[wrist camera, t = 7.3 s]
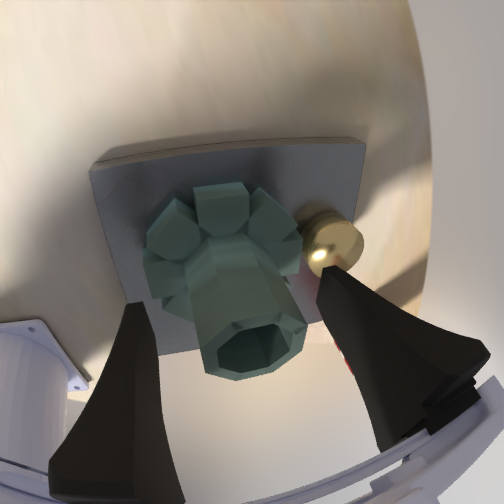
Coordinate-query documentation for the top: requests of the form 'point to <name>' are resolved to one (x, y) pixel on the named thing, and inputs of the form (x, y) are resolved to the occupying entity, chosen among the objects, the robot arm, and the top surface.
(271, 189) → the carrier plate
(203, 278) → the gear
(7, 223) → the top surface
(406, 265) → the top surface
